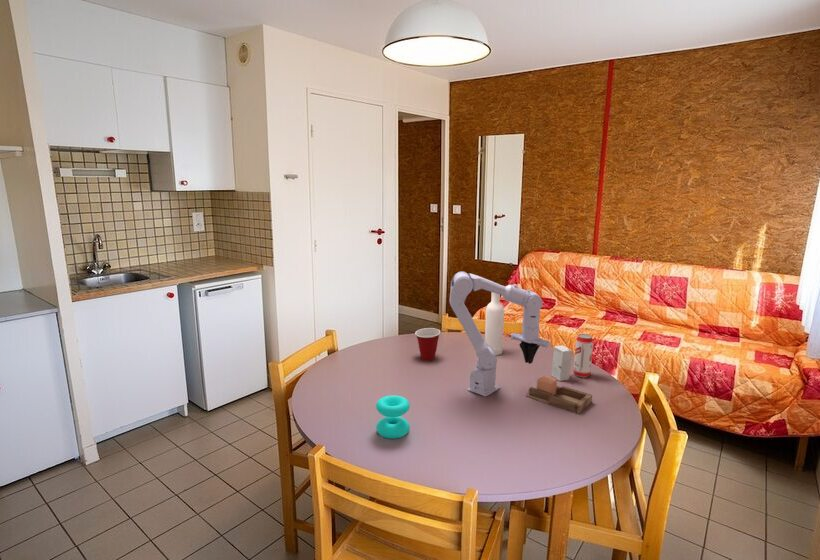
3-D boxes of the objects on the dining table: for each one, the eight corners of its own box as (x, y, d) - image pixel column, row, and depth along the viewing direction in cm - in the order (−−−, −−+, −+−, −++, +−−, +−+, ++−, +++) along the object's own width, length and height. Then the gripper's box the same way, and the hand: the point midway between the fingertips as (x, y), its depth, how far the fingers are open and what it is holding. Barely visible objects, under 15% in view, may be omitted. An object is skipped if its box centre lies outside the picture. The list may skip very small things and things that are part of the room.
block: (549, 398, 163) (550, 383, 162) (536, 394, 167) (537, 379, 165) (556, 393, 167) (557, 379, 166) (543, 389, 170) (543, 375, 169)
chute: (578, 414, 154) (579, 406, 153) (525, 396, 166) (526, 388, 166) (591, 402, 162) (592, 394, 161) (540, 386, 174) (540, 379, 174)
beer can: (587, 372, 187) (591, 333, 184) (592, 378, 181) (595, 339, 178) (571, 371, 188) (574, 333, 184) (575, 378, 182) (578, 338, 178)
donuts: (394, 412, 134) (369, 402, 140) (394, 444, 136) (369, 432, 142) (416, 400, 141) (391, 390, 148) (416, 430, 143) (391, 420, 150)
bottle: (505, 351, 210) (508, 285, 204) (498, 356, 203) (501, 289, 197) (488, 348, 214) (490, 283, 208) (481, 353, 207) (483, 286, 201)
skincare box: (550, 375, 184) (552, 345, 182) (560, 374, 185) (562, 344, 183) (560, 381, 178) (562, 351, 176) (570, 380, 180) (572, 350, 177)
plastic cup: (410, 355, 204) (410, 329, 202) (432, 352, 209) (433, 326, 206) (421, 364, 195) (421, 336, 192) (444, 360, 199) (445, 333, 197)
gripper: (555, 327, 165) (552, 364, 168) (518, 319, 174) (516, 354, 177) (545, 332, 160) (543, 370, 163) (508, 323, 169) (506, 359, 172)
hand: (528, 362), depth 170 cm, fingers closed
